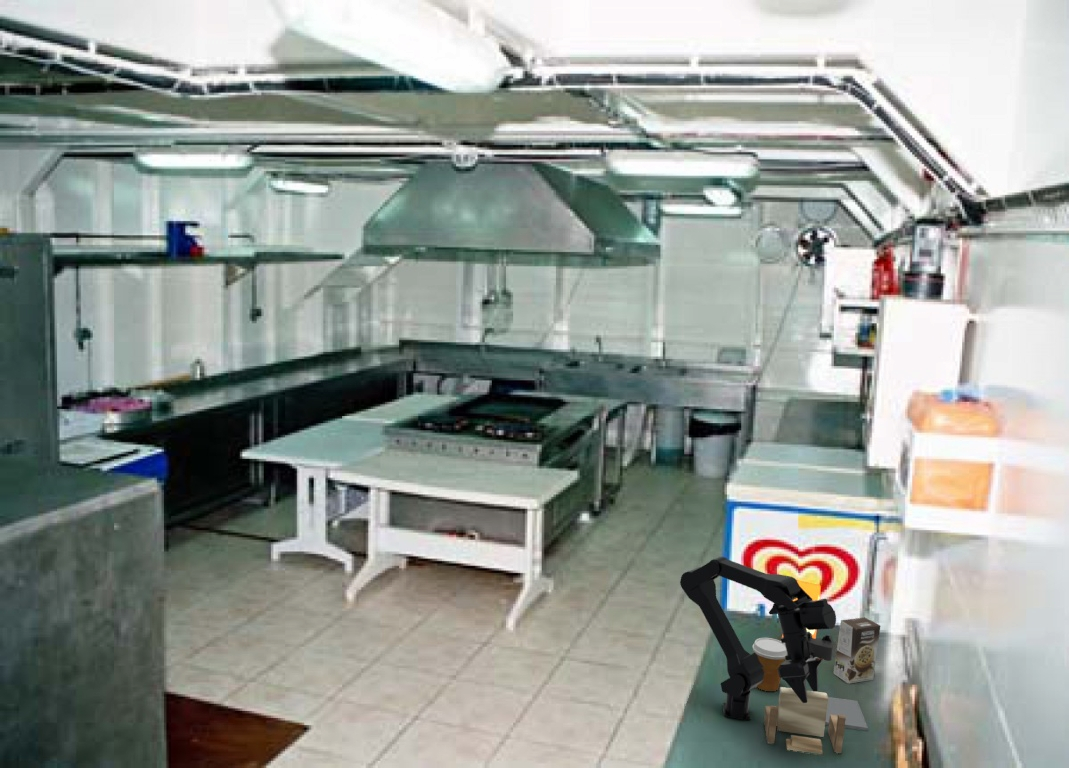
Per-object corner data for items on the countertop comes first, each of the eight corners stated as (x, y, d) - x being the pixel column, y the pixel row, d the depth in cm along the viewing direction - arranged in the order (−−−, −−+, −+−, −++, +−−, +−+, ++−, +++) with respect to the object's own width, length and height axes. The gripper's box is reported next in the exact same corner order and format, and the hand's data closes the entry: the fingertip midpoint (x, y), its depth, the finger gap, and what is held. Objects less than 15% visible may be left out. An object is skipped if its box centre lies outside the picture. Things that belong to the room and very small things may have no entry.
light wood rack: (763, 722, 230) (767, 688, 229) (834, 732, 228) (838, 698, 226) (767, 743, 220) (771, 708, 219) (841, 753, 218) (845, 718, 217)
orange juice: (810, 654, 272) (818, 589, 269) (780, 646, 275) (787, 582, 272) (815, 644, 279) (822, 581, 276) (785, 637, 282) (792, 574, 279)
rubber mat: (794, 695, 245) (794, 692, 245) (856, 703, 243) (857, 700, 243) (801, 721, 232) (801, 718, 232) (867, 730, 230) (867, 727, 229)
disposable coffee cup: (748, 675, 255) (752, 634, 253) (783, 681, 253) (788, 640, 251) (748, 691, 246) (753, 649, 244) (785, 697, 244) (790, 654, 242)
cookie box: (848, 684, 254) (855, 629, 251) (832, 673, 260) (839, 619, 257) (874, 680, 258) (881, 625, 255) (857, 669, 263) (864, 616, 261)
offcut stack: (785, 743, 222) (786, 734, 221) (819, 748, 220) (821, 739, 220) (787, 751, 218) (788, 741, 218) (822, 756, 217) (823, 746, 217)
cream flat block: (775, 724, 230) (780, 686, 228) (821, 730, 228) (826, 692, 227) (777, 730, 227) (781, 692, 225) (823, 737, 225) (828, 698, 224)
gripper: (817, 636, 209) (834, 706, 207) (837, 618, 225) (853, 682, 223) (769, 641, 215) (786, 710, 213) (792, 623, 231) (808, 686, 229)
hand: (810, 696), depth 219 cm, fingers open, 9 cm apart
